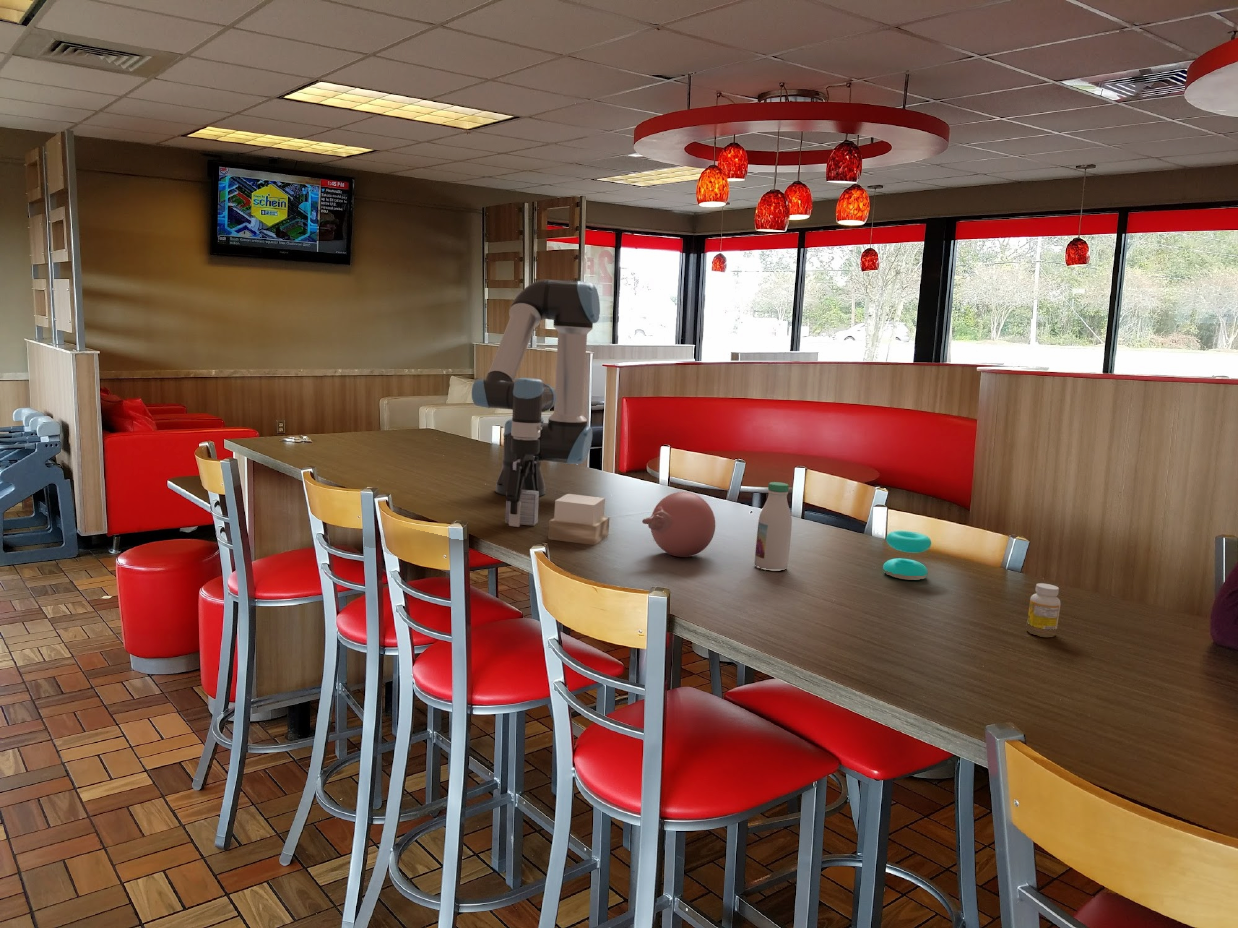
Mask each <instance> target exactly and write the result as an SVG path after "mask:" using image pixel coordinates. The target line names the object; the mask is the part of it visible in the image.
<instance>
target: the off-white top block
mask: <svg viewBox="0 0 1238 928" xmlns="http://www.w3.org/2000/svg"><path fill="white" fill-rule="evenodd" d="M605 506H606V498H605V497H597V496H589V495H583V494H574V493H573V494H572V493H567V494H564V495H562V496H561V497H559V498H557V499H555V501H554V512H553V513H554V514H553V515H554V517H553V518H554V520H556V521H563V522H571V523H579V524H588V525H594V524H595V523H597V522H598V521H599V520H601V519H602V518H604V517H605Z"/></svg>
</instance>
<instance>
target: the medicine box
mask: <svg viewBox="0 0 1238 928" xmlns="http://www.w3.org/2000/svg"><path fill="white" fill-rule="evenodd" d="M539 497H540V496H539V491H532V490H522V491H521V495H520V500H519V502H521V509H520V526H523V525H524V526H536V525H537V523H538V522H539V499H540V498H539ZM505 502H506V503H505V520H504V521H505V522H504V523H505V524H508V525H509V512H510V501H505Z"/></svg>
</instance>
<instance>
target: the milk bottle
mask: <svg viewBox="0 0 1238 928" xmlns="http://www.w3.org/2000/svg"><path fill="white" fill-rule="evenodd" d="M767 488H768V490H767V492H768V496H767V499H766V501H765V503H764V505H763V507H762V509H761V511H760V512H759V517H758V523H757V531H756V533H757V534H756V543H755V555H754V566H755V565H756V566H759V567H760V568H766V569H785V568H787V567H789V560H790V550H791V548H790V547H791V541H792V540H791V538H792V528H793V527H792V523H793V518H792V517H793V516H792V512H791V510H790V507H789V503H788V499H787V498H788V494H789V488H790V487H789V484H788V483H785V482H778V481H776V482H775V481H772V482H769V483H768V486H767ZM756 566H755V567H756ZM787 569H788V568H787Z"/></svg>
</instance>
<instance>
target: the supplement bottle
mask: <svg viewBox="0 0 1238 928" xmlns="http://www.w3.org/2000/svg"><path fill="white" fill-rule="evenodd" d="M1034 590H1035V593H1034V594H1032V595H1031V596H1030V599H1029V606H1028V614H1027V615H1028V616H1027V621H1026V624H1027V623H1028V624H1030V625H1031V626H1034V627H1036V628H1041V629H1050V630H1051V629H1053V630H1054V629H1057V630H1058V623H1059V617H1060V611H1061V600H1060V599H1059V597H1057V596H1058V595H1059V592H1060V588H1059V587H1058V586H1057V585H1053V584H1049V583H1043V582H1040V583H1036V584H1035V589H1034Z"/></svg>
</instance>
